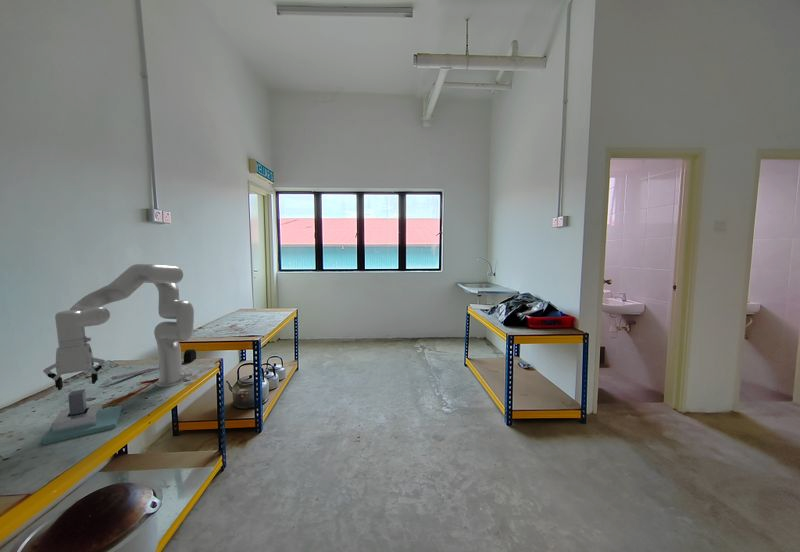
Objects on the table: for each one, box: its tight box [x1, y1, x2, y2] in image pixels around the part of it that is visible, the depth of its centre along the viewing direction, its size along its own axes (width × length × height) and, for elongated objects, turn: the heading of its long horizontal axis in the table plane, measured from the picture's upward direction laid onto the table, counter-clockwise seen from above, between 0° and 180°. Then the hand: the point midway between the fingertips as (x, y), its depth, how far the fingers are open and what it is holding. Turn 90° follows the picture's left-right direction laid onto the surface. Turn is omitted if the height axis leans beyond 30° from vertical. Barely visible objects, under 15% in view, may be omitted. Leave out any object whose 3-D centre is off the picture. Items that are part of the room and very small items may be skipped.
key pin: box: [67, 389, 87, 416], centre depth 131 cm, size 4×4×12 cm
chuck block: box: [41, 402, 124, 446], centre depth 133 cm, size 20×18×6 cm
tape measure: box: [183, 348, 197, 364], centre depth 207 cm, size 15×4×8 cm, turn 8°
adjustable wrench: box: [111, 365, 159, 381], centre depth 182 cm, size 25×6×2 cm, turn 160°
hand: (77, 385), depth 131 cm, fingers open, 9 cm apart
